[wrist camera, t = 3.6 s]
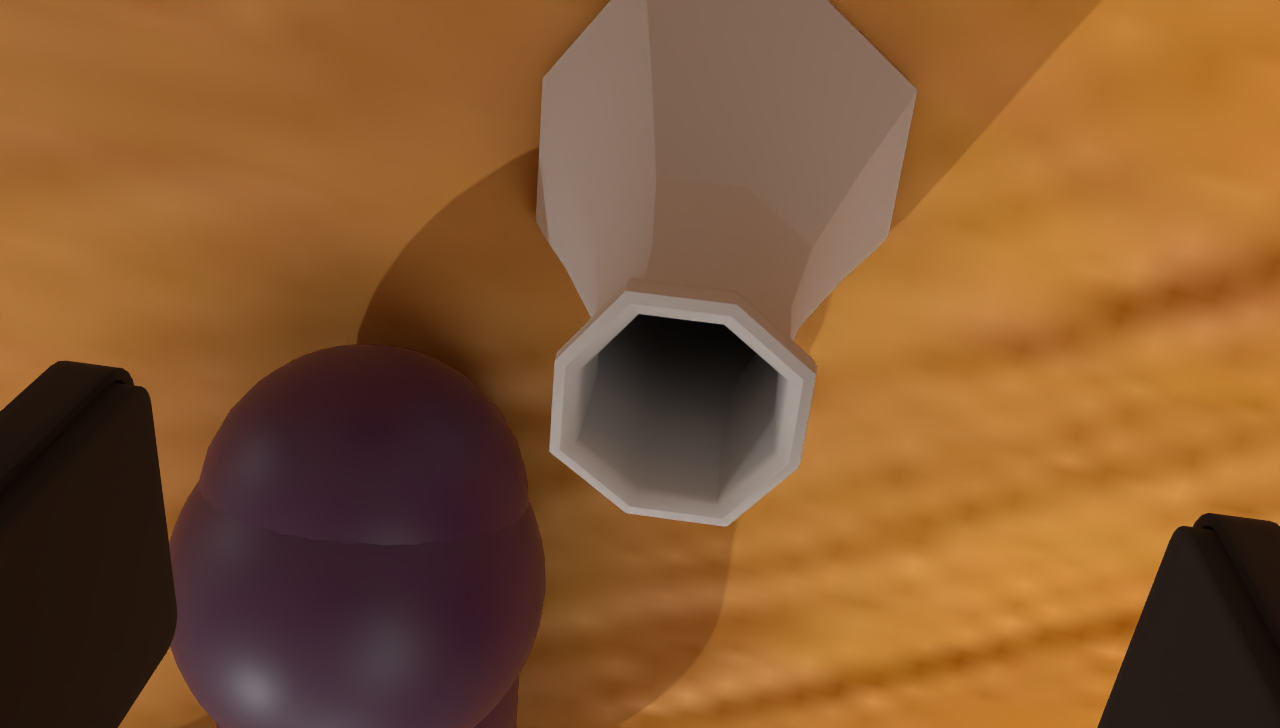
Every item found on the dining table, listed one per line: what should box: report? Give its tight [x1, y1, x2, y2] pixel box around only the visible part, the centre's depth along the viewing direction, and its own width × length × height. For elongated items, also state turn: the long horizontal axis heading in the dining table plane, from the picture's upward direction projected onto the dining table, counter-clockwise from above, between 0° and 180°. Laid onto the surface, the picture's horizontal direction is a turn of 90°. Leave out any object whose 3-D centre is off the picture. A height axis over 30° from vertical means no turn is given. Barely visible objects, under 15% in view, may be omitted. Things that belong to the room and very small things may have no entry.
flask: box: [536, 0, 917, 527], centre depth 19 cm, size 7×7×10 cm
